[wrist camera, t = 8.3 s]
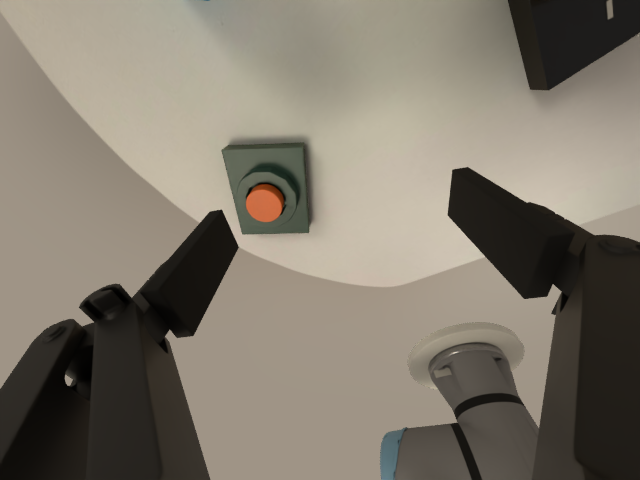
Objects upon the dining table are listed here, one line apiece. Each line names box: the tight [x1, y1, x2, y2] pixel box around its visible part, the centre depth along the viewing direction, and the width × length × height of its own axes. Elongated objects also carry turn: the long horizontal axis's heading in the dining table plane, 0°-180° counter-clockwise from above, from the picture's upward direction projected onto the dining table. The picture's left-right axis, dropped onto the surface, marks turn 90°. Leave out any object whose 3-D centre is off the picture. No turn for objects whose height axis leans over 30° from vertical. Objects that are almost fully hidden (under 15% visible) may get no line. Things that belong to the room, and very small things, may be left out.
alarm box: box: [222, 143, 310, 234], centre depth 30 cm, size 11×9×4 cm
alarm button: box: [246, 184, 284, 222], centre depth 28 cm, size 4×4×2 cm
